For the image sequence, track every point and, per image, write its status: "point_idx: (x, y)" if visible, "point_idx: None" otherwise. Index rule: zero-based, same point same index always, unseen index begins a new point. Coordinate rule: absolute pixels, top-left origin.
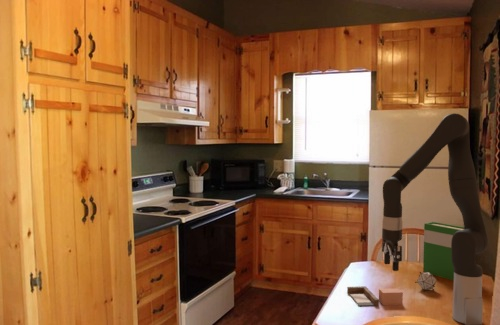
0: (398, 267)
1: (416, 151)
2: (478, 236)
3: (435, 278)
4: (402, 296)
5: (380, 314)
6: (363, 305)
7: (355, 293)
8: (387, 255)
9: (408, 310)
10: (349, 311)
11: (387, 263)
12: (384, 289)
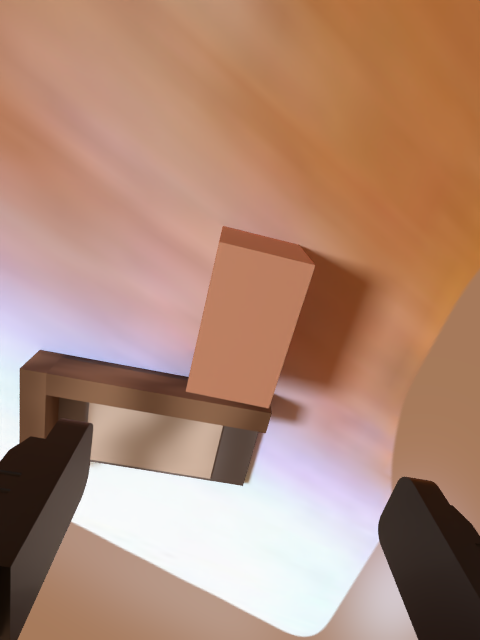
0: (457, 520)
1: None
2: None
3: None
4: (309, 259)
5: (367, 438)
6: (248, 465)
7: None
8: (14, 614)
9: (393, 269)
10: (280, 536)
11: (87, 458)
12: (210, 363)
